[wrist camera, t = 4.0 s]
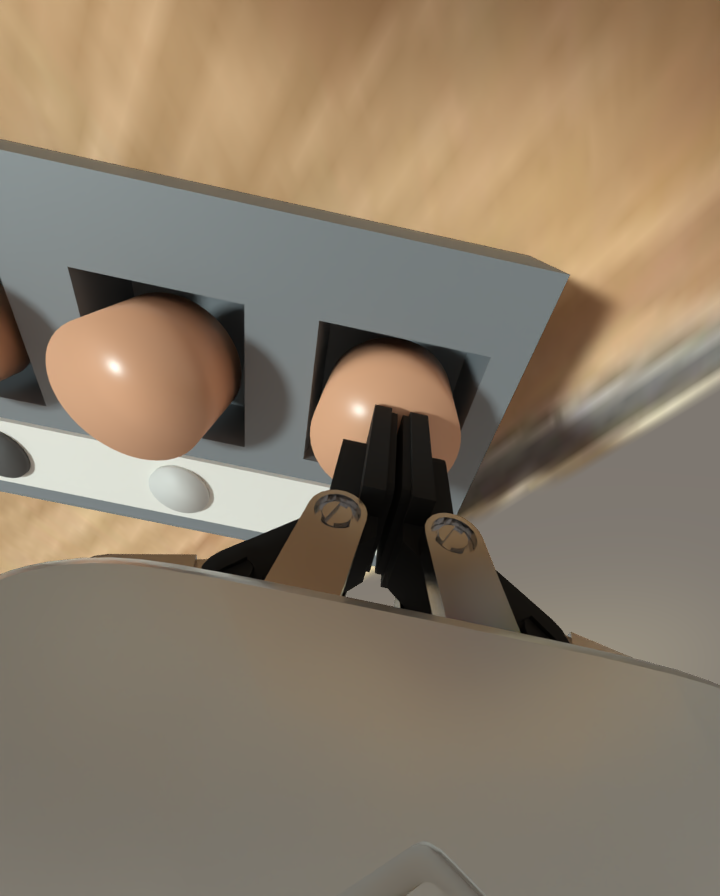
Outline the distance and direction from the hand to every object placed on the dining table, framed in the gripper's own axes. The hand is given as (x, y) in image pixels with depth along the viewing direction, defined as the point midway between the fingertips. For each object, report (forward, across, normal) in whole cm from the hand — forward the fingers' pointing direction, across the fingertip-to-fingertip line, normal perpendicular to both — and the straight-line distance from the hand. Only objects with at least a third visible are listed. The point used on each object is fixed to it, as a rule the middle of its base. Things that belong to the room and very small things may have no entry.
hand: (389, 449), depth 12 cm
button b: (+3, +8, 0) cm, 9 cm away
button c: (+3, 0, 0) cm, 3 cm away
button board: (+6, +8, +1) cm, 10 cm away
